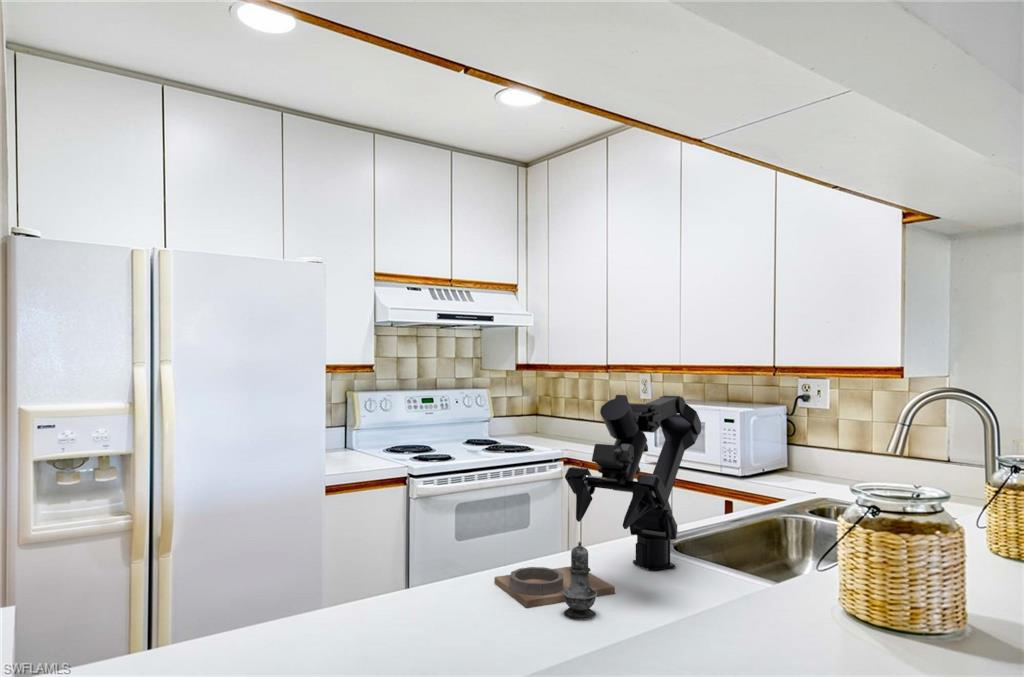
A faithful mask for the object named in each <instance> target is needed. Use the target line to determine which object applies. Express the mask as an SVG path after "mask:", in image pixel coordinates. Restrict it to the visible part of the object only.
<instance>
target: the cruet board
mask: <svg viewBox="0 0 1024 677" xmlns="http://www.w3.org/2000/svg"><path fill="white" fill-rule="evenodd" d="M570 567H571V565H570V566H565V567H557V568H550V567H544V566H543V567H542V566H528V567H521V568H517V569H515V570H513V571H511V572H510V574H506V575H498V576H494V584H495V585H496V586H497V587H498V588H500V589H501V590H503V591H504V592H505V593H506V594H508V595H509V596H510V597H511V598H513V599H514V600H516V602H518V603H519V604H521V605H522V606H523V607H524V608H525V609H529V608H534V607H536V608H537V607H540V606H546V605H552V604H553V605H554V604H560V603H566V602H565V599H564V595H563V594H562V591H563V590H564V589H565V588H568V587H569V586H570V582H571V571H569V568H570ZM589 585H590V588H592V589H594V590H595V591H596V592H597V596H596V597H602V596H607V595H608V596H609V595H614V594H615V595H616V586H614V585H612V584H610V583H609V582H607V581H605V580H603V579H601V578H600V577H598V576H596V575H594V574H592V573H590V572H589ZM596 597H595V598H596Z"/></svg>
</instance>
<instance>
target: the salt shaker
mask: <svg viewBox="0 0 1024 677" xmlns="http://www.w3.org/2000/svg"><path fill="white" fill-rule="evenodd" d="M582 544H583V543H582V542H581V541H578V543H577V545H576V546H574V547H573V548H572V549H571V551H570V554H571V555H570V557H571V558H570V560H571V561H570V564H571V565H570V566H571V567H570V566H569V567H570V568H569V571H571V582H570V586H569V587H568V588H565V589H564V590H563V591H562V594H563V595H564V599H565V602H564V603H565V604H566V605H567V606H568V608H567V609H565V610H564V612H563V615H564V616H565V617H566V618H568V619H570V620H575V621H589V620H592V619H594V618H595V617H596V612H595V611H594V610H592V609H591V608H592V607H593V605H595V602H596V596H597V592H596V591H595V590H594V589H592V588H590V585H589V573H590V572H591V571H592V570H591V568H590V567H589V550H588V549H587V548H586V547H584V546H583V545H582ZM597 597H598V596H597Z"/></svg>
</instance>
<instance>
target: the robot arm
mask: <svg viewBox="0 0 1024 677" xmlns="http://www.w3.org/2000/svg"><path fill="white" fill-rule="evenodd" d="M599 411H600V415H601V418H602V421H603V422H604V424H605V427H606V429H607V431H608V433H609V435H610V437H612V438H613V439H615V441H614V444H605V443H602V444H601V443H595V444H594V448H593V450H592V451H593V452H592V458H591V462H592V463H596V465H597V471H598V473H600V474H601V476H597V475H592V474H591V472H590V470H589V468H587V467H577V466H572V467H569V468H567V469H566V473H565V475H564V479H565V481H566V482H567V485H568V486H569V487H570V490H571V491H572V492H573V494H574V495H575V499H576V500H575V501H576V503H575V519H576V522H578V523H580V522H581V521H582V519H583V518H584V517H585V514H586V513H587V511H588V509H589V506H590V504H591V503H592V501H593V499H594V498H593V497H592V495H593V494H595V490H596V488H598V489H607V490H613V491H615V492H616V491H617V492H624V493H625V492H626V493H632V497H631V500H630V503H629V505H628V507H627V509H626V510H627V511H626V513H625V515H624V519H623V522H622V528H623V529H624V530H627V529H628V528H629V530H630V531H629V532H630V535H631V536H636V543H635V559H633V560H632V563H633V564H635V565H637V566H638V567H641V568H643V569H645V570H647V571H651V572H654V571H660V570H666V569H667V570H668V569H673V568H676V564H674V563H671V540H677V538H678V537H677V535H678V525H677V524H678V523H677V522H676V520H675V517H674V515H673V510H672V508H671V507H672V506H671V504H670V501H669V499H670V496H671V493H672V490H673V486H674V484H675V480H676V478H677V475H678V472H679V469H680V466H681V463H682V460H683V457H684V454H685V451H687V449H690V448H691V447H692V446H693V445H695V444H696V442H697V440H698V438H699V436H700V434H701V433H702V422H701V419H700V417H699V414H698V412H697V410H695V409H694V408H692V407H691V406H690V405H688V404H687V403H686V401H685V399H684V397H682V396H680V395H663V396H660V397H659V398H657V399H654V400H652V401H648V402H647V403H634V402H633V403H631V402H629V400H628V397H627V395H626V394H616V395H615V397H614V398H612V399H610V400H608V401H606V402H605V403H604V404H603V405H601V408H600V410H599ZM659 428H661V431H662V434H663V437H664V442H663V443H662V444H663V445H662V448H661V451H660V453H659V456H658V458H657V462H656V464H655V466H654V470H653V472H652V474H647V473H640V472H641V468H640V462H641V460H642V456H643V454H644V453H647V452H648V451H649V446H648V439H647V437H646V434H645V433H651V434H652V433H656V432H657V431H658V429H659ZM636 474H638V476H637V477H636V478H637V479H636V480H634V479H635V476H636Z"/></svg>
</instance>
